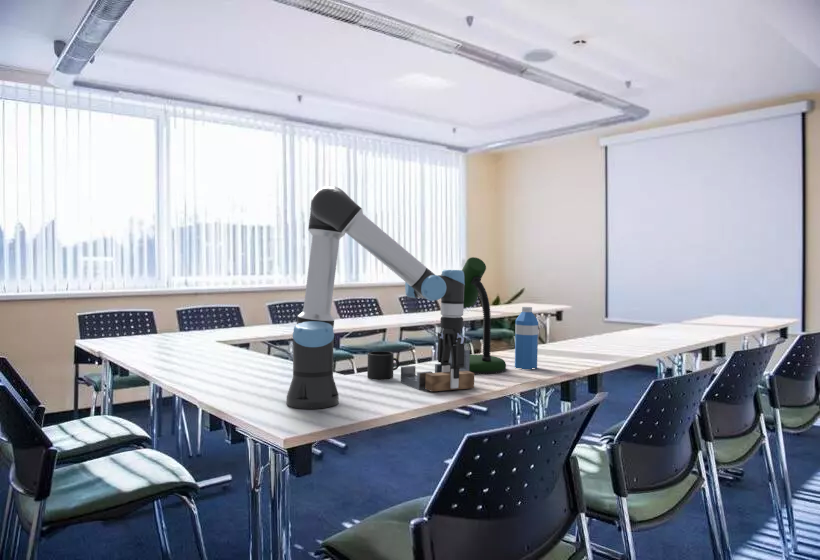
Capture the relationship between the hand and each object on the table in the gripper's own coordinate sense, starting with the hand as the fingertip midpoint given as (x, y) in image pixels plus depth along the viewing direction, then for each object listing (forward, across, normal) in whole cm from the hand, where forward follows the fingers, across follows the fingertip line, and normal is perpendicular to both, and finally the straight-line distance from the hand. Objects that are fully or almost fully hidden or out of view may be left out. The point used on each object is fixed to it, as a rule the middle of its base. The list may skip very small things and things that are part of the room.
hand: (449, 386), depth 185 cm
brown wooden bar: (+1, 0, 0) cm, 1 cm away
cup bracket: (+1, +11, -8) cm, 13 cm away
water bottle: (+1, +22, -51) cm, 56 cm away
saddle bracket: (+1, +11, +7) cm, 13 cm away
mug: (+2, +28, +11) cm, 30 cm away
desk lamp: (+1, +32, -31) cm, 45 cm away
